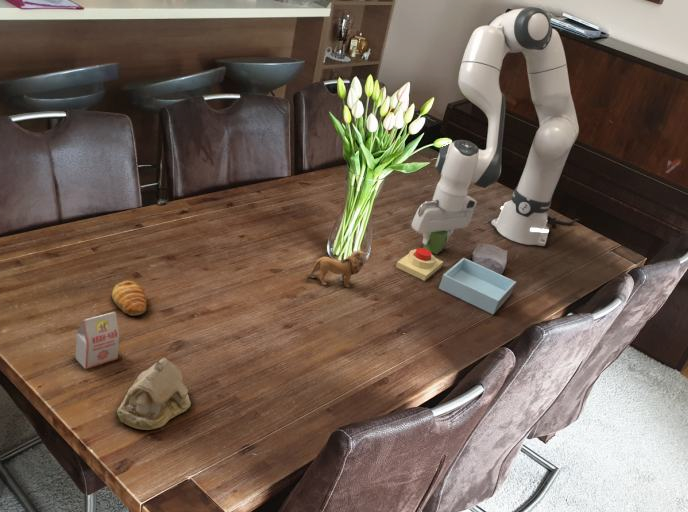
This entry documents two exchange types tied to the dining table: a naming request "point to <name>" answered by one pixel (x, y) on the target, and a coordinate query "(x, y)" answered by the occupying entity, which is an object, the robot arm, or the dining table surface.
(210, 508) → the dining table surface
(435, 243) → the green block
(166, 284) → the dining table surface
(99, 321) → the tea bag
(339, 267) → the lion figurine
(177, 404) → the ceramic model
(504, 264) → the stone block
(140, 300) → the pastry
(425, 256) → the button
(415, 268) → the button housing
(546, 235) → the robot arm
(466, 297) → the basin
